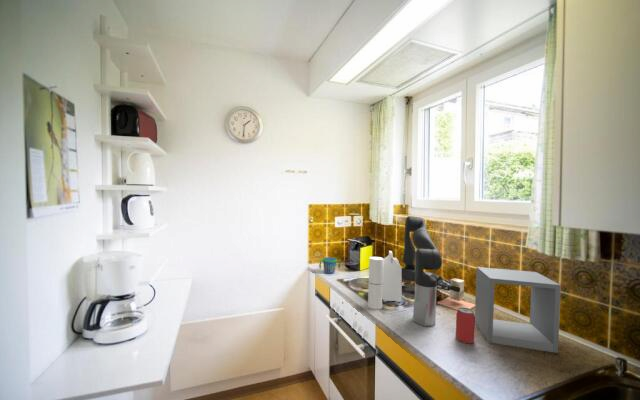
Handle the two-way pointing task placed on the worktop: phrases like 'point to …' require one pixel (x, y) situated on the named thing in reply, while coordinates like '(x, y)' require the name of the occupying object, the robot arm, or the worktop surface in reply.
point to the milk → (392, 279)
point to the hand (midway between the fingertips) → (462, 289)
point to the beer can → (465, 325)
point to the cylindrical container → (375, 282)
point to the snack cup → (329, 264)
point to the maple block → (454, 294)
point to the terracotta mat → (455, 303)
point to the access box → (542, 310)
